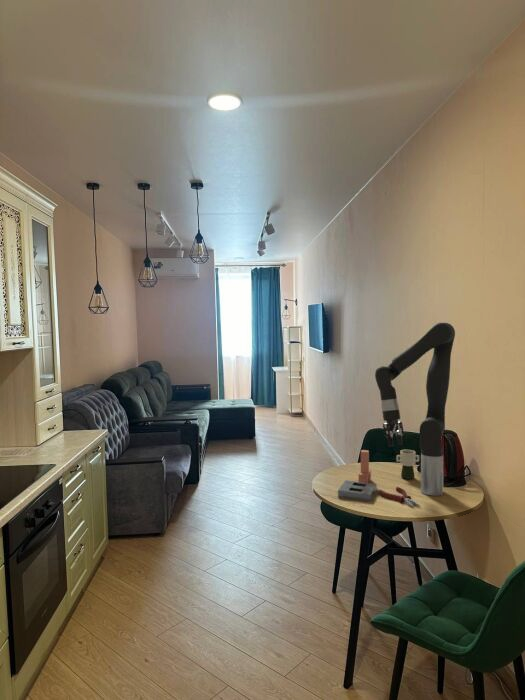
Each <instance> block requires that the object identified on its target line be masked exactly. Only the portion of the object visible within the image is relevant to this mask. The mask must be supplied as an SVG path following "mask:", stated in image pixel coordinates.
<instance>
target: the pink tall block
mask: <svg viewBox="0 0 525 700" xmlns="http://www.w3.org/2000/svg"><path fill="white" fill-rule="evenodd" d="M371 480H372V470H371V469H370V451H369V450H367V449H361V450H360V471H359V473H358V482H364V483H369V482H371Z"/></svg>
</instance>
